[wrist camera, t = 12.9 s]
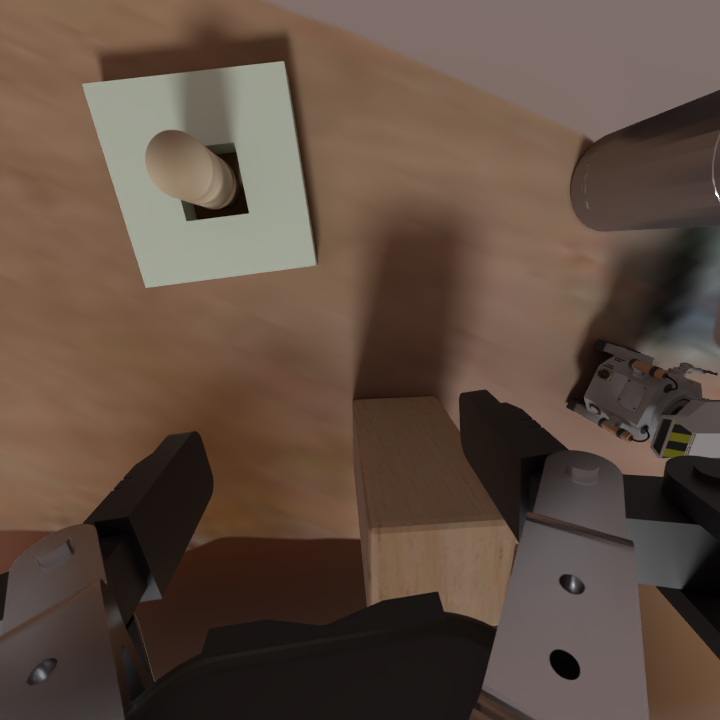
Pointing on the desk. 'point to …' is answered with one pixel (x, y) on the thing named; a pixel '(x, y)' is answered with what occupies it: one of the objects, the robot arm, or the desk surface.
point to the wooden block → (426, 511)
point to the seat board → (220, 135)
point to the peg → (190, 171)
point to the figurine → (651, 404)
